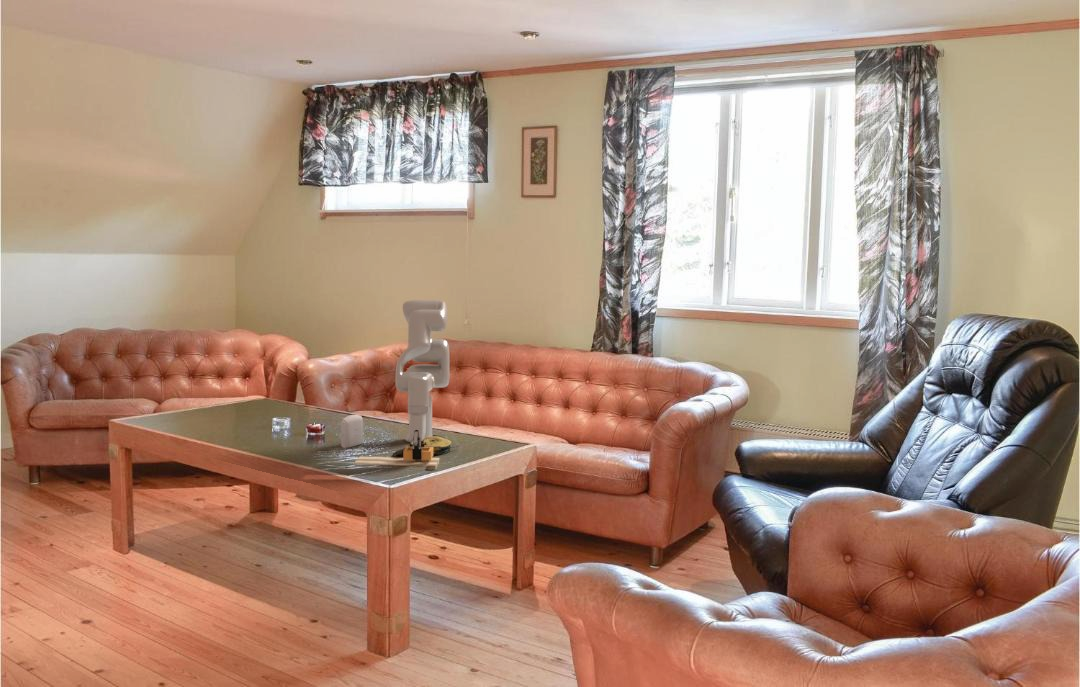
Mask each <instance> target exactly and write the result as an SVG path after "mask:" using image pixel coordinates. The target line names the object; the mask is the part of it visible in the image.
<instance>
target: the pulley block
mask: <svg viewBox="0 0 1080 687" xmlns="http://www.w3.org/2000/svg"><path fill="white" fill-rule="evenodd" d="M432 435H433V436H427V437H425V438H424V447H433V456H434V455H436V456H437V455H440V456H441V455H445V454H447V453H449V452H450V451H451V449H453V448H457V447H459V445H456V446H455V445H454V446H451V444H452V440H449V439H447V438H446V437H443V436H441V435H437V434H432ZM409 447H413V441H412V442H411V443H410V442H409ZM405 448H406V447H403V448H401V449H398V450H396V451H395V452H393V453H392V457H403V451H404V449H405Z"/></svg>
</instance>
